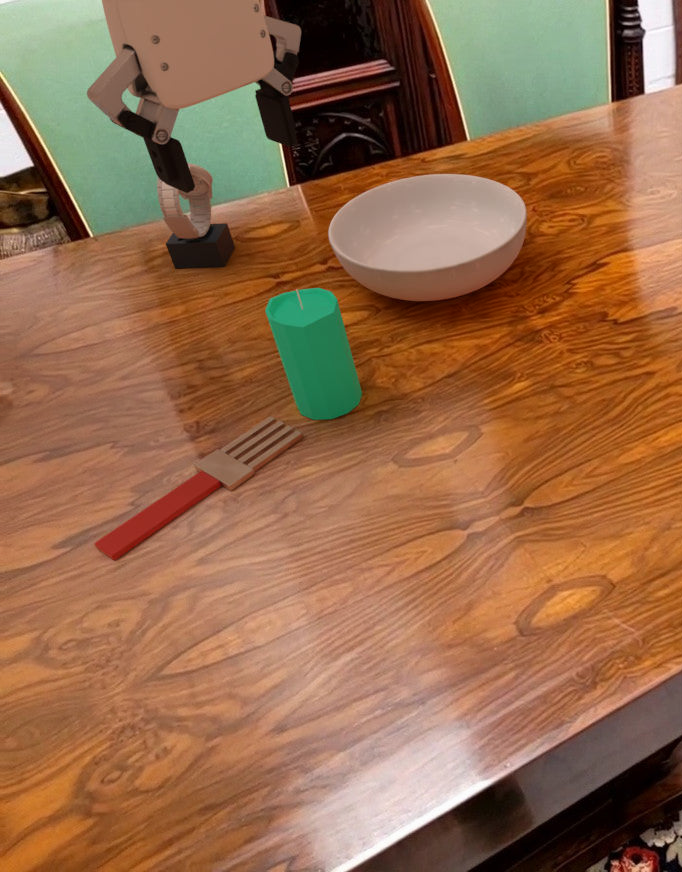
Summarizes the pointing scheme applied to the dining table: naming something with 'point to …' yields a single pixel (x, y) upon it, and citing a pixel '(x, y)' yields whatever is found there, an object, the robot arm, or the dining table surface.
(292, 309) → the candle
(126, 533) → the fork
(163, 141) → the robot arm
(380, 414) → the dining table surface
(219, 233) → the watch
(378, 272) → the serving bowl
